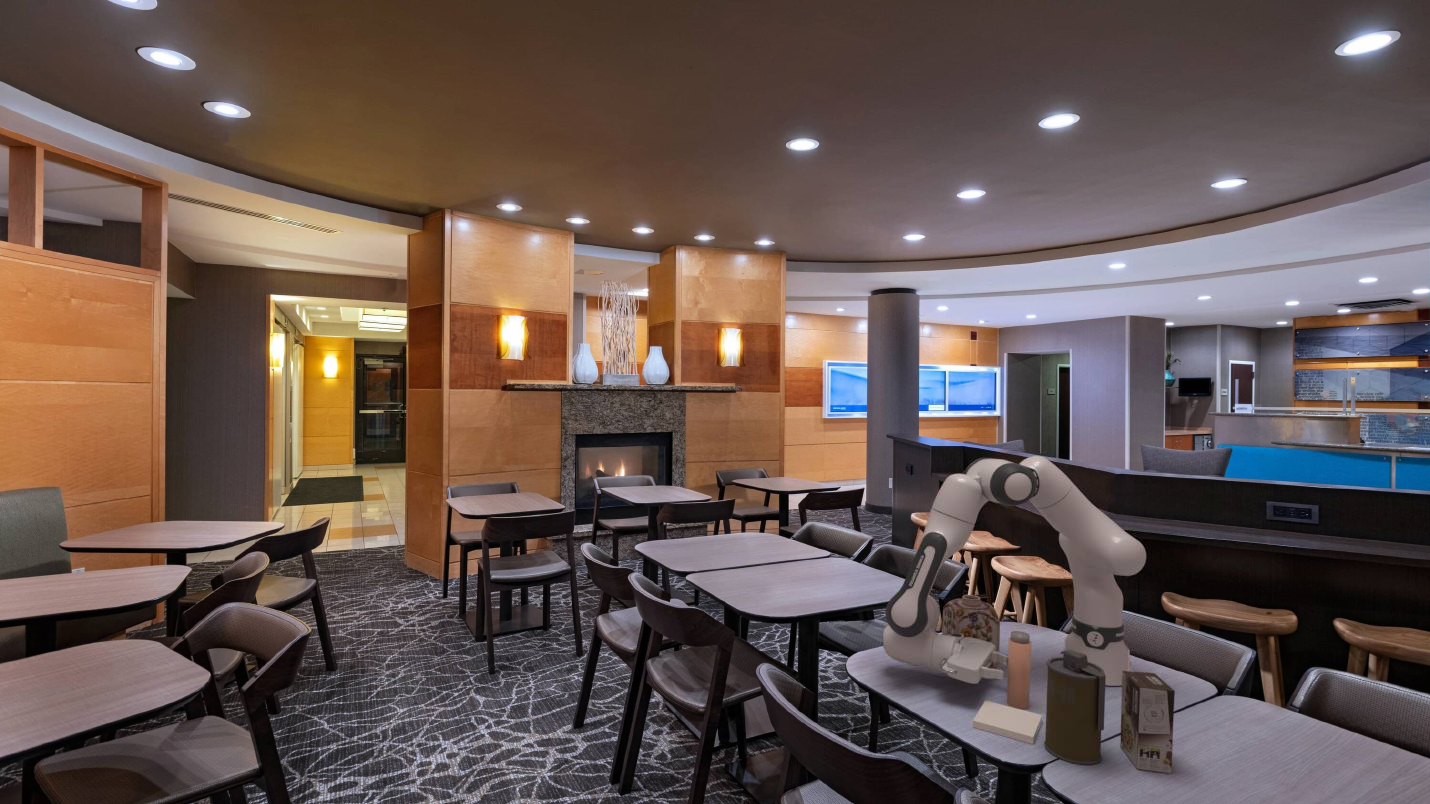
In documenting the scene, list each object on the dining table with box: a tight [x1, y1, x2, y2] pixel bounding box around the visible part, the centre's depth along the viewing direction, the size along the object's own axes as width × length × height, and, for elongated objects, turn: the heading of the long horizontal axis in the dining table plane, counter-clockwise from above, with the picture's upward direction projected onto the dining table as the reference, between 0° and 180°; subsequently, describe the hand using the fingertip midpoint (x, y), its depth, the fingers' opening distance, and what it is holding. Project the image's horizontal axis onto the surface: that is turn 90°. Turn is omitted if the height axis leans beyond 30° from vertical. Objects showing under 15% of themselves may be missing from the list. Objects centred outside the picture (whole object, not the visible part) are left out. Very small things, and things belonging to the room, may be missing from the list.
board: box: [972, 700, 1043, 745], centre depth 150 cm, size 12×12×2 cm
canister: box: [1043, 650, 1106, 766], centre depth 139 cm, size 11×10×20 cm
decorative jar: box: [941, 594, 1001, 669], centre depth 184 cm, size 12×12×18 cm
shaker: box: [1006, 630, 1032, 710], centre depth 160 cm, size 5×5×17 cm
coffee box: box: [1119, 671, 1176, 774], centre depth 137 cm, size 9×6×16 cm
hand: (1008, 668), depth 161 cm, fingers open, 8 cm apart
